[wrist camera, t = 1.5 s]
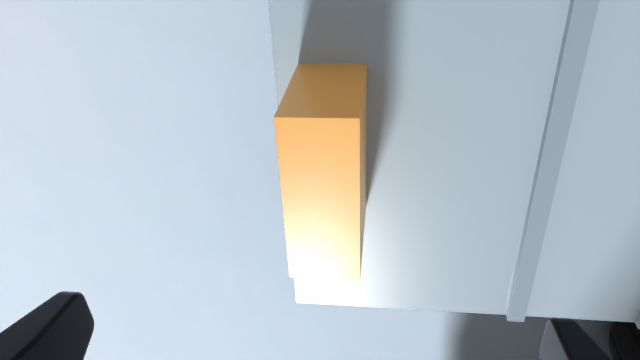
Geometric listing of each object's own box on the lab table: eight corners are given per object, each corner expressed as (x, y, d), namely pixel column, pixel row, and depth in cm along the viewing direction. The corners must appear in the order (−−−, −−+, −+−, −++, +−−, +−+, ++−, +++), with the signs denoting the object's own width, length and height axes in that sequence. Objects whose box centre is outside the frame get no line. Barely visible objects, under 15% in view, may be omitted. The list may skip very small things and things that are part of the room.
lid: (743, 312, 19) (826, 424, 15) (299, 288, 21) (279, 381, 18) (998, -156, 11) (1282, -156, 8) (264, -124, 14) (214, -112, 10)
